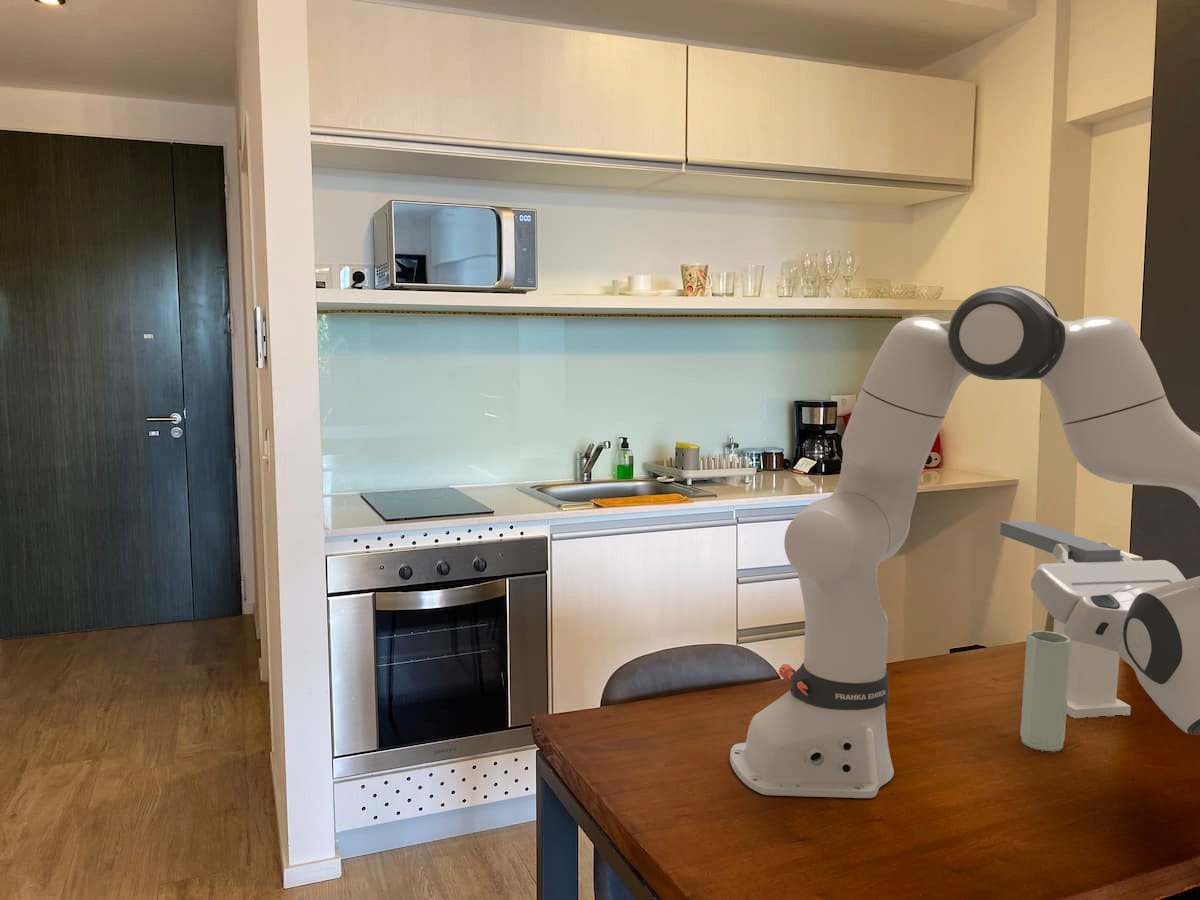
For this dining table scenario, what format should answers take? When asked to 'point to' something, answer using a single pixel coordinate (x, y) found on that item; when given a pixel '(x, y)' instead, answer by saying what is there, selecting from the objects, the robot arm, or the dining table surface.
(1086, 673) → the stand
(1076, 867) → the dining table surface
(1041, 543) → the cover
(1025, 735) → the jar
